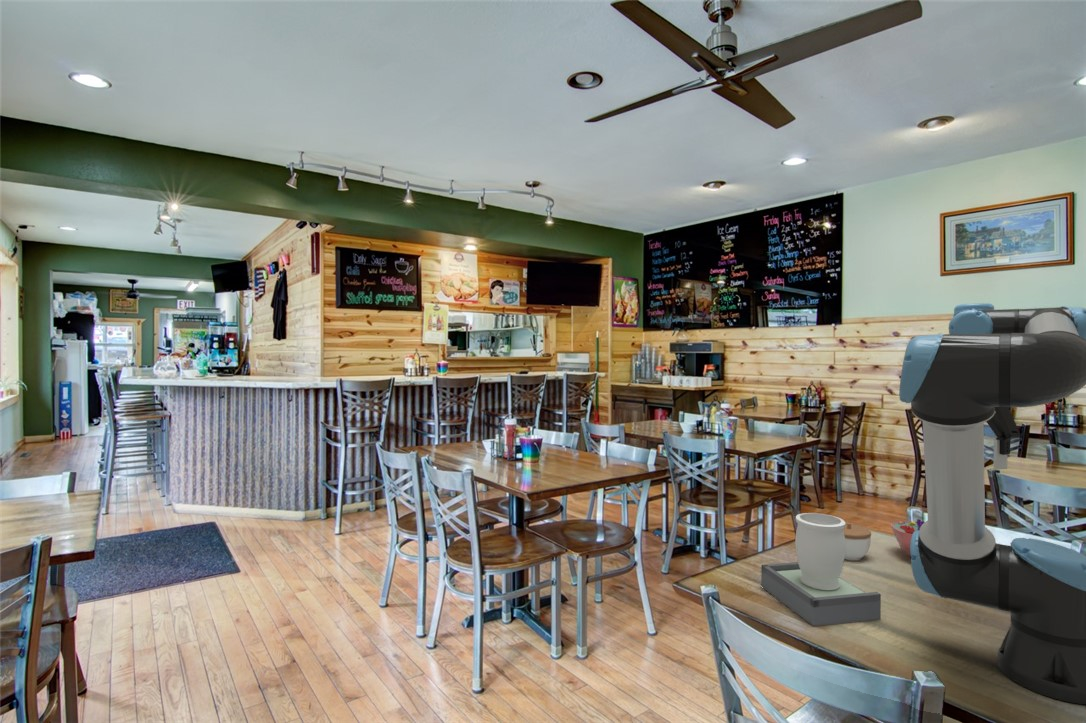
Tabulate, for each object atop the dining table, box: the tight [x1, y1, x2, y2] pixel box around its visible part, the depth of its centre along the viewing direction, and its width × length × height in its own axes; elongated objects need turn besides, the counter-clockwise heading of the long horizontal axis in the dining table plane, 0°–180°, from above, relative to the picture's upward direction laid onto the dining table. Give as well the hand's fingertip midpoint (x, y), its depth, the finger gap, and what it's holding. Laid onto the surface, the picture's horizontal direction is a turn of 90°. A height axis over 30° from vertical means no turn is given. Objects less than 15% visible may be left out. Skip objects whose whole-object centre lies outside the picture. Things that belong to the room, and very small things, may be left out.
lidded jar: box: [843, 522, 872, 561], centre depth 160 cm, size 11×11×9 cm
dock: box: [760, 561, 882, 627], centre depth 132 cm, size 20×16×6 cm
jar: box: [795, 512, 846, 590], centre depth 131 cm, size 11×10×15 cm
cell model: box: [890, 518, 925, 557], centre depth 156 cm, size 17×20×11 cm
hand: (972, 462), depth 132 cm, fingers open, 13 cm apart
